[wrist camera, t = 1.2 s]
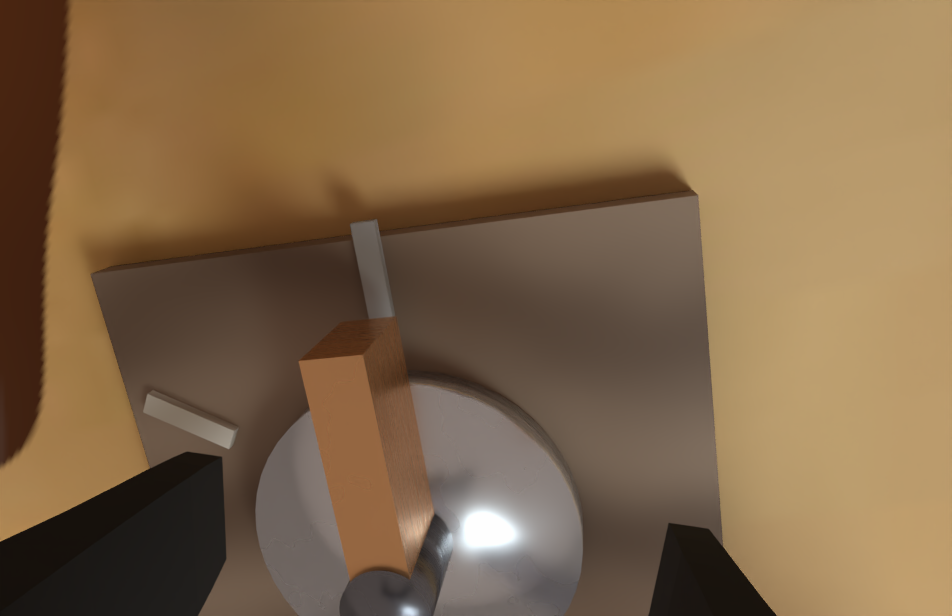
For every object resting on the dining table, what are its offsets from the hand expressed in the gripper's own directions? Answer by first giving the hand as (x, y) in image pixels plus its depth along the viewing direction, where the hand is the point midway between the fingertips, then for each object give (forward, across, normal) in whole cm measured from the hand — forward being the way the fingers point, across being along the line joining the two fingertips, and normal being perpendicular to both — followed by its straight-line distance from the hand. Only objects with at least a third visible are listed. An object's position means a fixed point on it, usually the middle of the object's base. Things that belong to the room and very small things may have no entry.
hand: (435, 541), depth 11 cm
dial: (+9, +2, +7) cm, 11 cm away
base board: (+10, +2, +7) cm, 12 cm away
